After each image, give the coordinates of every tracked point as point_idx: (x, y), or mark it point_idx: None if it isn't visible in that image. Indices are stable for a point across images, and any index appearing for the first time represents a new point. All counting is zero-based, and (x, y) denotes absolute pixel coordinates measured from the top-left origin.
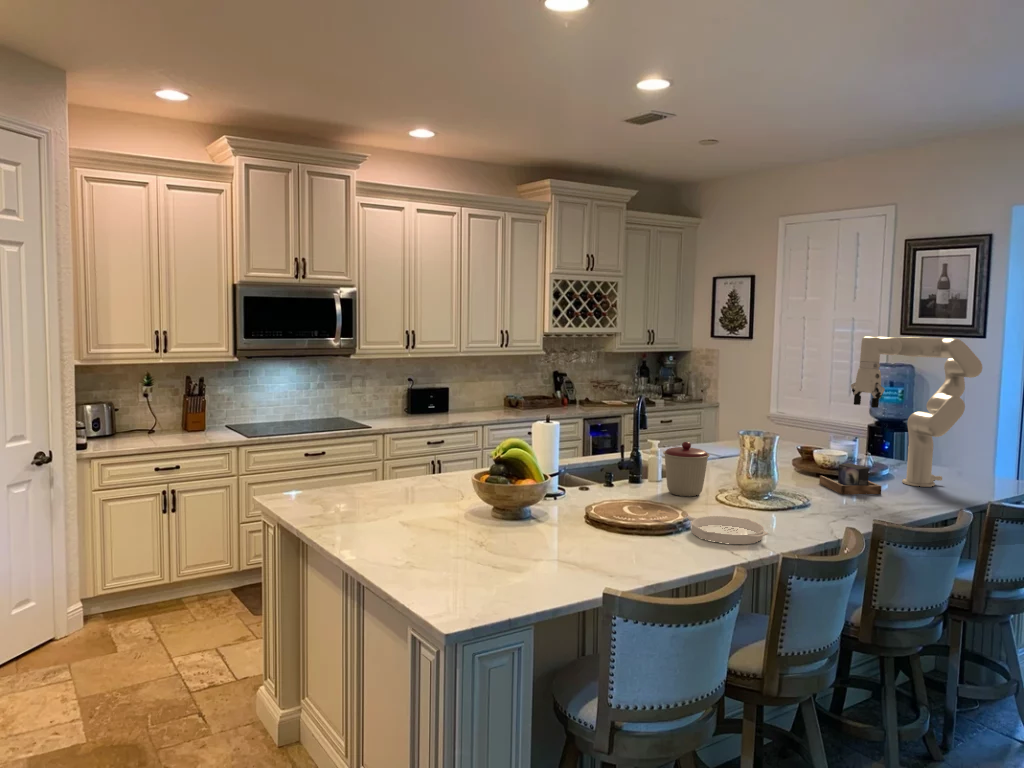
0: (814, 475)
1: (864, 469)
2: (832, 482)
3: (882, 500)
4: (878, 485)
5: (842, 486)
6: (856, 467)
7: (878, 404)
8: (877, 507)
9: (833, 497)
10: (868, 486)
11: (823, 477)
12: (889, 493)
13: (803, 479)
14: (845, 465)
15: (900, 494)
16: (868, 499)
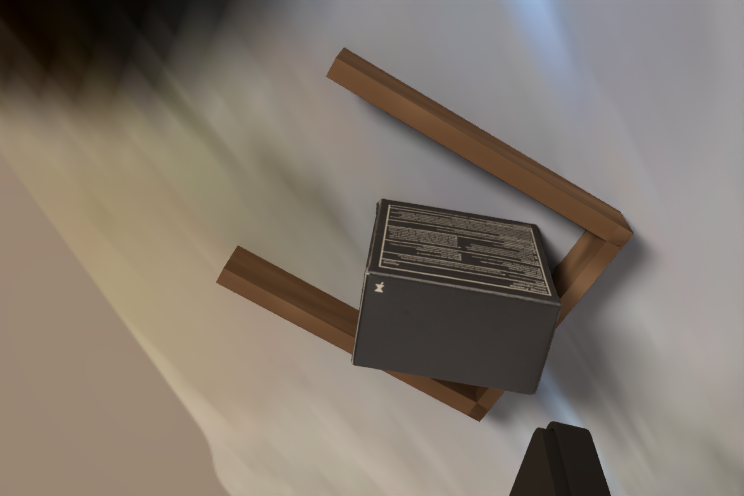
0: (19, 51)
1: (548, 344)
2: None
3: (694, 338)
4: (610, 232)
5: (479, 418)
6: (497, 369)
7: (604, 477)
8: (741, 487)
9: (490, 474)
10: (577, 301)
11: (263, 307)
12: (640, 128)
13: (99, 233)
14: (405, 365)
15: (704, 90)
16: (629, 377)
